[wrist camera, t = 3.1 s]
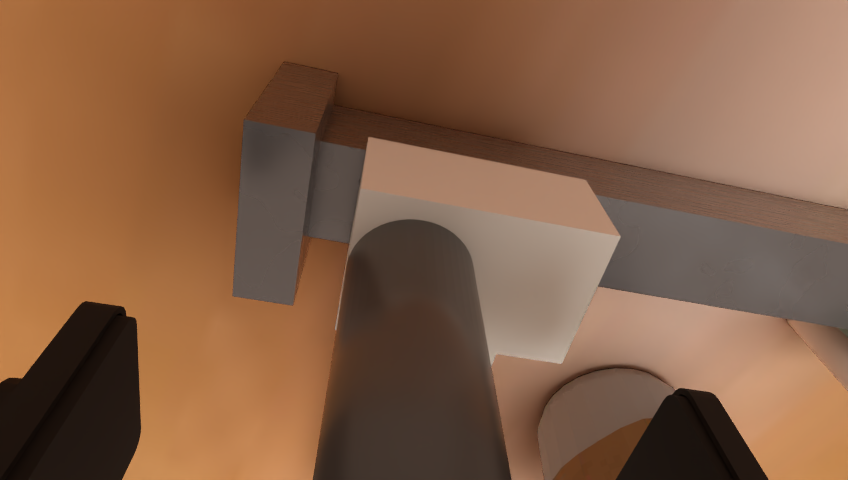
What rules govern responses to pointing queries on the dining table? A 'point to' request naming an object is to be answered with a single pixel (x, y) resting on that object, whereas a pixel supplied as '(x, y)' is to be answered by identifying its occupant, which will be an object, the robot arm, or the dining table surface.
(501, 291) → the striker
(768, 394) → the dining table surface
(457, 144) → the rail
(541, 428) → the coffee cup
